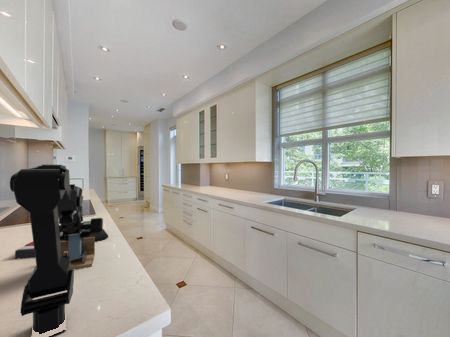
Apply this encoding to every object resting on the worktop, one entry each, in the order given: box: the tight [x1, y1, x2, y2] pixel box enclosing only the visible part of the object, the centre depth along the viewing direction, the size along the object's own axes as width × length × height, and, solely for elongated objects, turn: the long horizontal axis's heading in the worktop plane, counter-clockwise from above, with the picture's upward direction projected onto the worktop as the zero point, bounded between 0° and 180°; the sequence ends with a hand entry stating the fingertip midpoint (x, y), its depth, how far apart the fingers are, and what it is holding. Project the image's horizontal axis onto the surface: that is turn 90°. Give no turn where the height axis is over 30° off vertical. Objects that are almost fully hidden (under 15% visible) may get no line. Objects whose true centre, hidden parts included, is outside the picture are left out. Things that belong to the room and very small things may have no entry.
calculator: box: [14, 241, 35, 260], centre depth 89 cm, size 11×4×15 cm
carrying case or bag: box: [85, 229, 109, 243], centre depth 105 cm, size 11×3×15 cm
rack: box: [60, 237, 96, 271], centre depth 77 cm, size 11×14×8 cm
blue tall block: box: [68, 232, 81, 260], centre depth 77 cm, size 4×4×12 cm
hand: (75, 239), depth 78 cm, fingers closed on blue tall block, 3 cm apart
